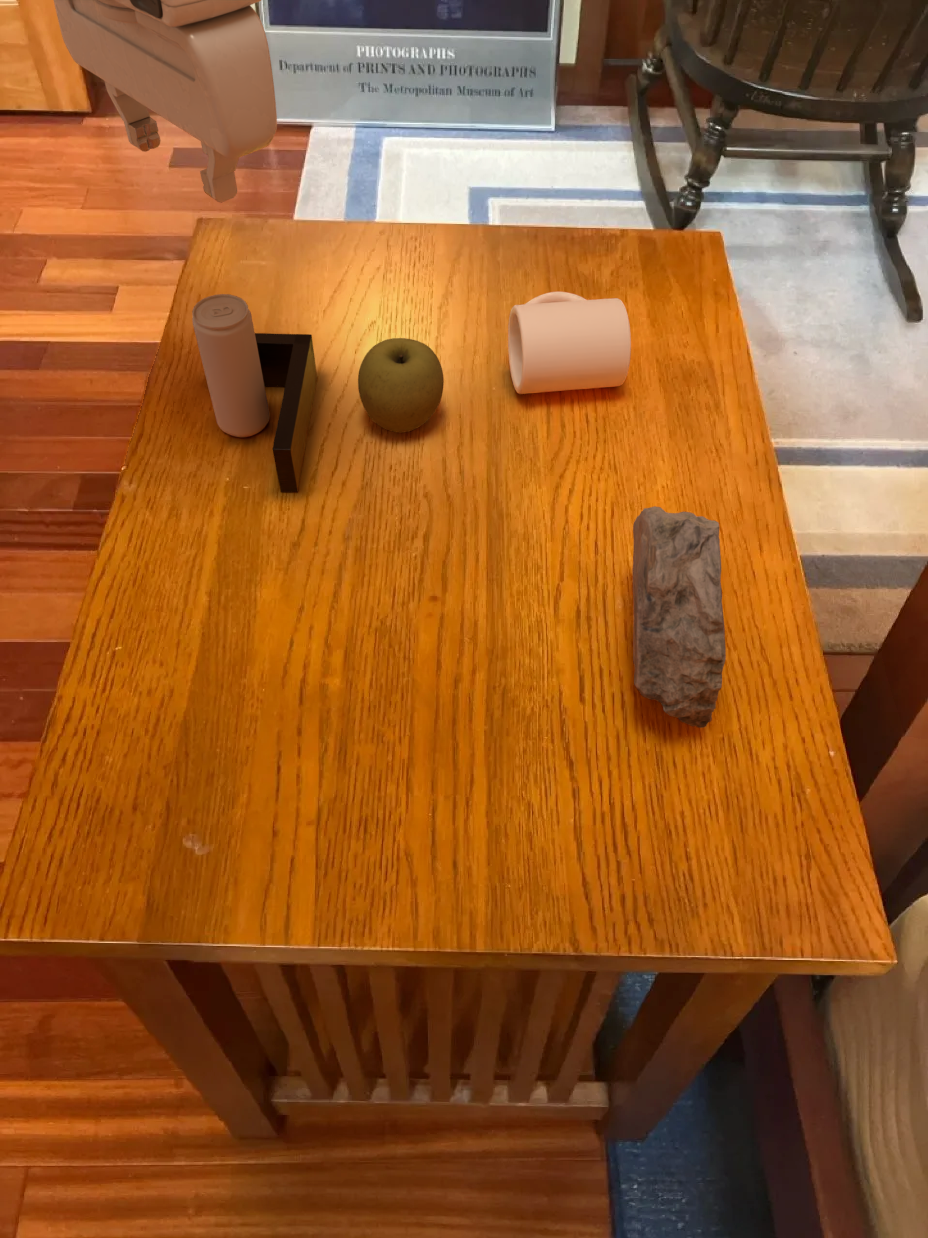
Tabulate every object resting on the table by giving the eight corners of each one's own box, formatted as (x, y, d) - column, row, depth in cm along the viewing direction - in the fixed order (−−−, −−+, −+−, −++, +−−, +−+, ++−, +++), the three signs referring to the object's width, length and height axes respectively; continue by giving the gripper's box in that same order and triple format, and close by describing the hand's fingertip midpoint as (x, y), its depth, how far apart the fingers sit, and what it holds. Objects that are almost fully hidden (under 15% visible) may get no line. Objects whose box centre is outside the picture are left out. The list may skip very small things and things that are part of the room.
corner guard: (188, 490, 80) (174, 446, 76) (219, 375, 90) (208, 331, 86) (297, 492, 81) (290, 449, 77) (317, 377, 90) (311, 334, 86)
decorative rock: (705, 750, 66) (763, 624, 54) (611, 739, 66) (648, 611, 54) (699, 575, 76) (747, 435, 64) (617, 566, 76) (649, 425, 64)
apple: (455, 402, 88) (456, 338, 82) (422, 456, 84) (421, 392, 78) (382, 382, 90) (378, 318, 84) (346, 434, 85) (339, 370, 79)
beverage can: (213, 411, 87) (185, 298, 77) (264, 400, 88) (243, 288, 78) (223, 445, 84) (195, 332, 74) (275, 434, 85) (255, 321, 75)
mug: (622, 403, 88) (636, 332, 82) (519, 411, 88) (525, 340, 81) (594, 326, 96) (605, 256, 89) (498, 333, 95) (503, 262, 88)
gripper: (-2, -95, 58) (67, 131, 69) (185, 3, 50) (229, 244, 61) (88, -115, 61) (140, 106, 72) (280, -24, 52) (306, 210, 63)
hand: (182, 170), depth 66 cm, fingers open, 8 cm apart
